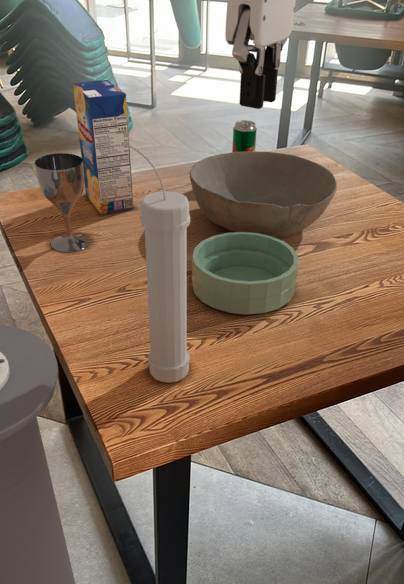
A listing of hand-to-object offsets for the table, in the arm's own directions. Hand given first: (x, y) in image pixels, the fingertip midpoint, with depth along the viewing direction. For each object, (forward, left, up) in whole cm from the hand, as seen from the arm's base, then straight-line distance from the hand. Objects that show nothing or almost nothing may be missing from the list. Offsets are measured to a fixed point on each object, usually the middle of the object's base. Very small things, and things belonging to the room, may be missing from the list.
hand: (257, 102), depth 76 cm
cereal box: (-7, +42, -29) cm, 51 cm away
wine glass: (-20, +28, -29) cm, 45 cm away
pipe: (-21, -13, -29) cm, 38 cm away
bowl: (+16, +20, -29) cm, 39 cm away
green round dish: (0, 0, -29) cm, 29 cm away
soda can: (+25, +41, -29) cm, 56 cm away
